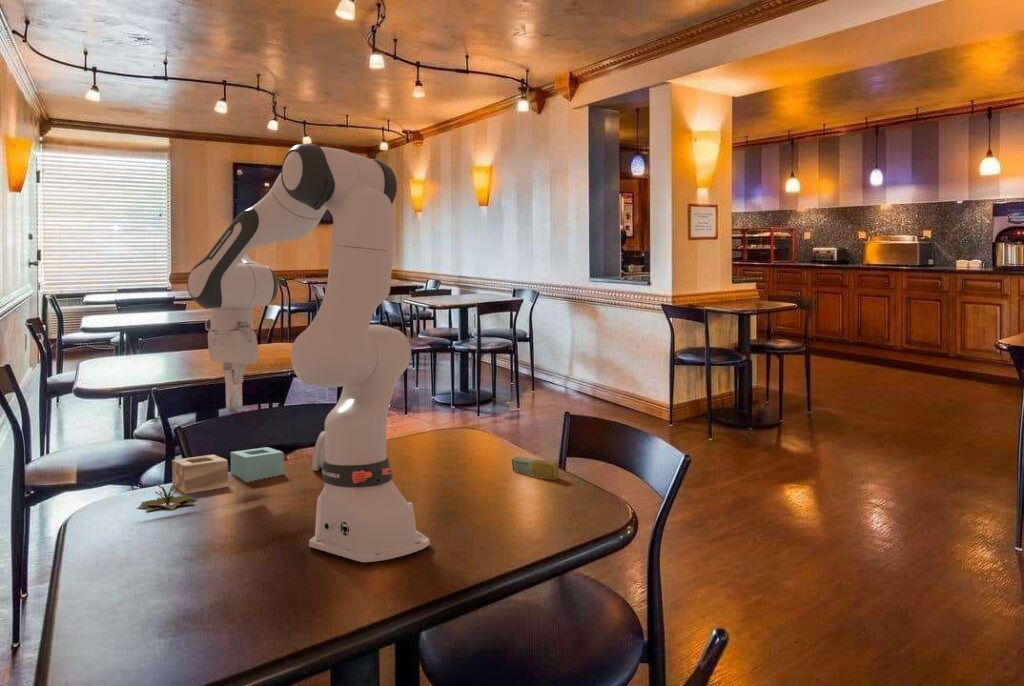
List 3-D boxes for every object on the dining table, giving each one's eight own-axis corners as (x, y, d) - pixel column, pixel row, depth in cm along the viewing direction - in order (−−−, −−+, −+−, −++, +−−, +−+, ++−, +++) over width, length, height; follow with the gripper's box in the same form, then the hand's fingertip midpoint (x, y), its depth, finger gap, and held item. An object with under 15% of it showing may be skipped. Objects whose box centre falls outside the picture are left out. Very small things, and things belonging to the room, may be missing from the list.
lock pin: (244, 408, 160) (244, 369, 160) (229, 410, 157) (228, 370, 157) (238, 407, 162) (238, 369, 162) (223, 408, 160) (222, 369, 160)
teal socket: (283, 477, 164) (283, 452, 164) (245, 483, 158) (245, 457, 157) (268, 471, 170) (267, 447, 170) (231, 477, 164) (230, 452, 164)
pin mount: (228, 486, 155) (227, 460, 155) (185, 493, 149) (185, 466, 149) (213, 479, 162) (213, 454, 161) (172, 486, 156) (171, 460, 155)
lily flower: (137, 518, 132) (137, 494, 132) (131, 504, 142) (130, 482, 142) (205, 508, 139) (204, 485, 139) (194, 495, 149) (194, 474, 149)
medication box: (512, 475, 165) (510, 459, 165) (519, 472, 167) (517, 456, 167) (553, 481, 158) (552, 464, 157) (560, 477, 160) (558, 461, 159)
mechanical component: (321, 466, 174) (326, 427, 174) (338, 469, 174) (344, 430, 174) (308, 475, 164) (314, 434, 164) (326, 478, 164) (333, 437, 164)
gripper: (264, 321, 154) (266, 383, 154) (229, 322, 169) (230, 379, 169) (236, 322, 150) (238, 386, 150) (202, 322, 164) (204, 380, 165)
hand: (233, 382), depth 160 cm, fingers closed on lock pin, 3 cm apart
